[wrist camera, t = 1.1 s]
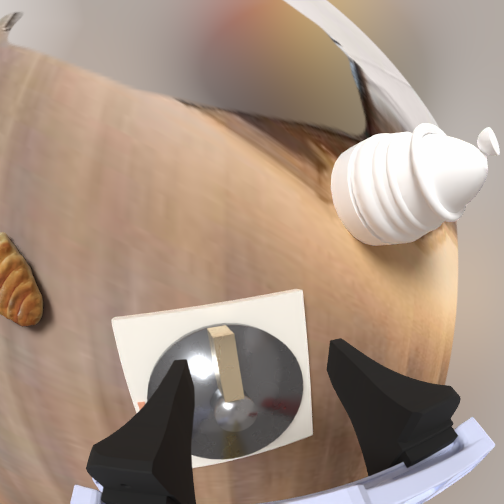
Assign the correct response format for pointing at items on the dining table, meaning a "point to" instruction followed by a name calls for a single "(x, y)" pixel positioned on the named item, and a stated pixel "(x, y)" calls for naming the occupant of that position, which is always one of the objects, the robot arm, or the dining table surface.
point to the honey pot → (408, 183)
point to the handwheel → (235, 387)
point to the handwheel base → (188, 319)
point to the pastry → (17, 286)
